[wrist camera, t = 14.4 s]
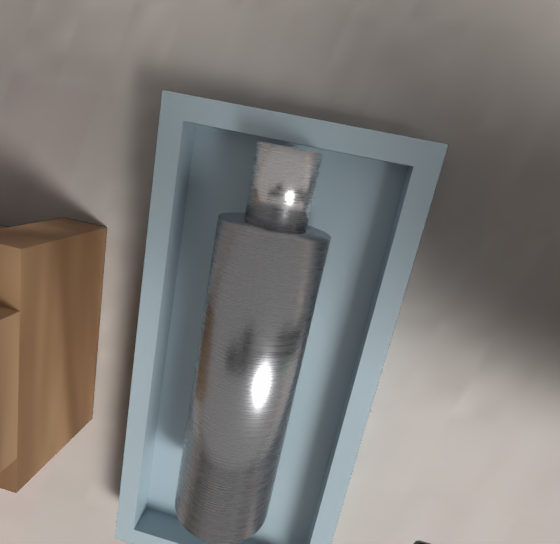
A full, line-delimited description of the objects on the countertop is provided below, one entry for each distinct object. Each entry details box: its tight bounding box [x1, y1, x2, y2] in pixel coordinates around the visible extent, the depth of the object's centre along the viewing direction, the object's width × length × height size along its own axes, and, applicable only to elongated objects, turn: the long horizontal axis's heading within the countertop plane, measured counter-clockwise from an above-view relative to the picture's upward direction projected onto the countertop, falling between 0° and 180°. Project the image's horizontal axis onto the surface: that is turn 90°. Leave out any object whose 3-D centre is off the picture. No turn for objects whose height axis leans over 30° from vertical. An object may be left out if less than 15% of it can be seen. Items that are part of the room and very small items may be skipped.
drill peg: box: [175, 141, 331, 544], centre depth 14 cm, size 4×13×4 cm, turn 169°
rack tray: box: [115, 90, 448, 544], centre depth 16 cm, size 9×19×2 cm, turn 169°
